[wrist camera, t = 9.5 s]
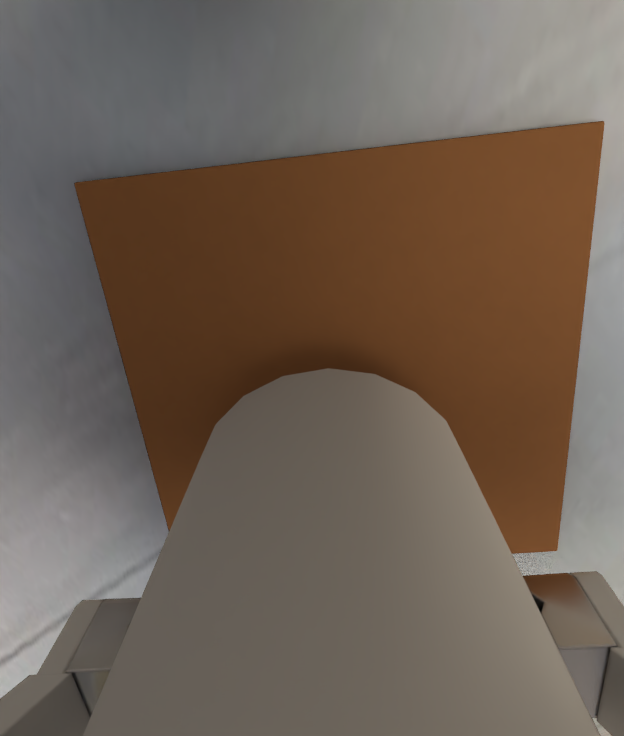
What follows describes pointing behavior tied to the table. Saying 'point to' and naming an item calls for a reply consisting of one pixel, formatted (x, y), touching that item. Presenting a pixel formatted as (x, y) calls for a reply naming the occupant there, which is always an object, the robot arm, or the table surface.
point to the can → (336, 585)
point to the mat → (364, 295)
